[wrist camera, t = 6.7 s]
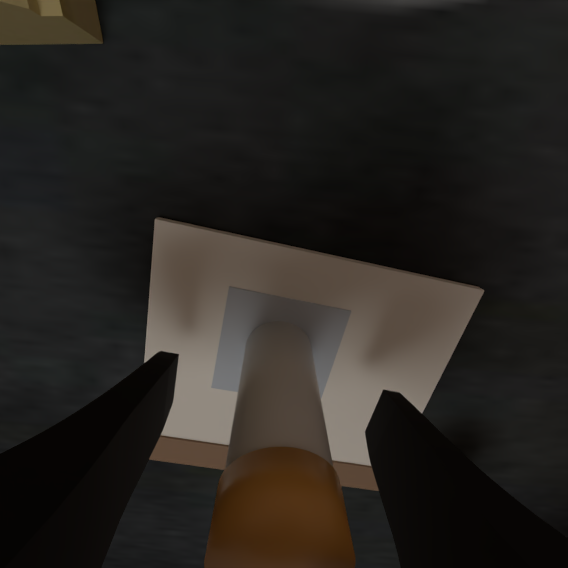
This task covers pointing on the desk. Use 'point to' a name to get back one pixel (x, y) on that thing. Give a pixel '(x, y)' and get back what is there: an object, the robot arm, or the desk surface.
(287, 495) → the orange cap marker
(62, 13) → the figurine on pedestal
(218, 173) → the desk surface
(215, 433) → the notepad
